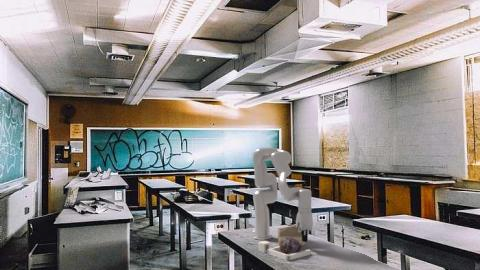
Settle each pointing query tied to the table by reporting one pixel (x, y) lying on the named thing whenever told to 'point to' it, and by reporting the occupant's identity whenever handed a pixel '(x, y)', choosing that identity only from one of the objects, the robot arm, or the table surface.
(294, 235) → the shelf
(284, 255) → the corral
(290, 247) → the rock
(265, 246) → the letter cube
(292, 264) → the table surface
